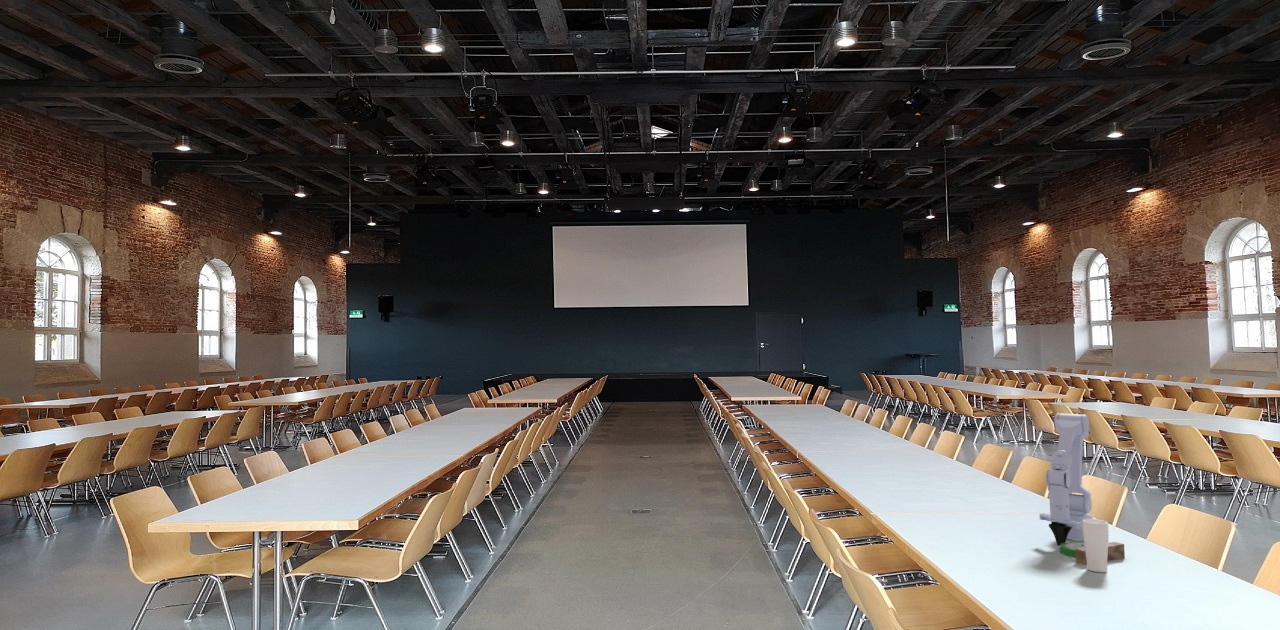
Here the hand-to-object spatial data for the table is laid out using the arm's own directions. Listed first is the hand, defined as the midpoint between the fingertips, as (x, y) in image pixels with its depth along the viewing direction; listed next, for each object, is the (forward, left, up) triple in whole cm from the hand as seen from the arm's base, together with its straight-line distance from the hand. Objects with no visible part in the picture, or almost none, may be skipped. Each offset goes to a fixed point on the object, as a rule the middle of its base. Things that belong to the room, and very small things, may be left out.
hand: (1061, 545), depth 245 cm
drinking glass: (+10, +21, -1) cm, 23 cm away
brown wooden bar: (0, +14, -1) cm, 14 cm away
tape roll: (0, +6, -2) cm, 7 cm away
